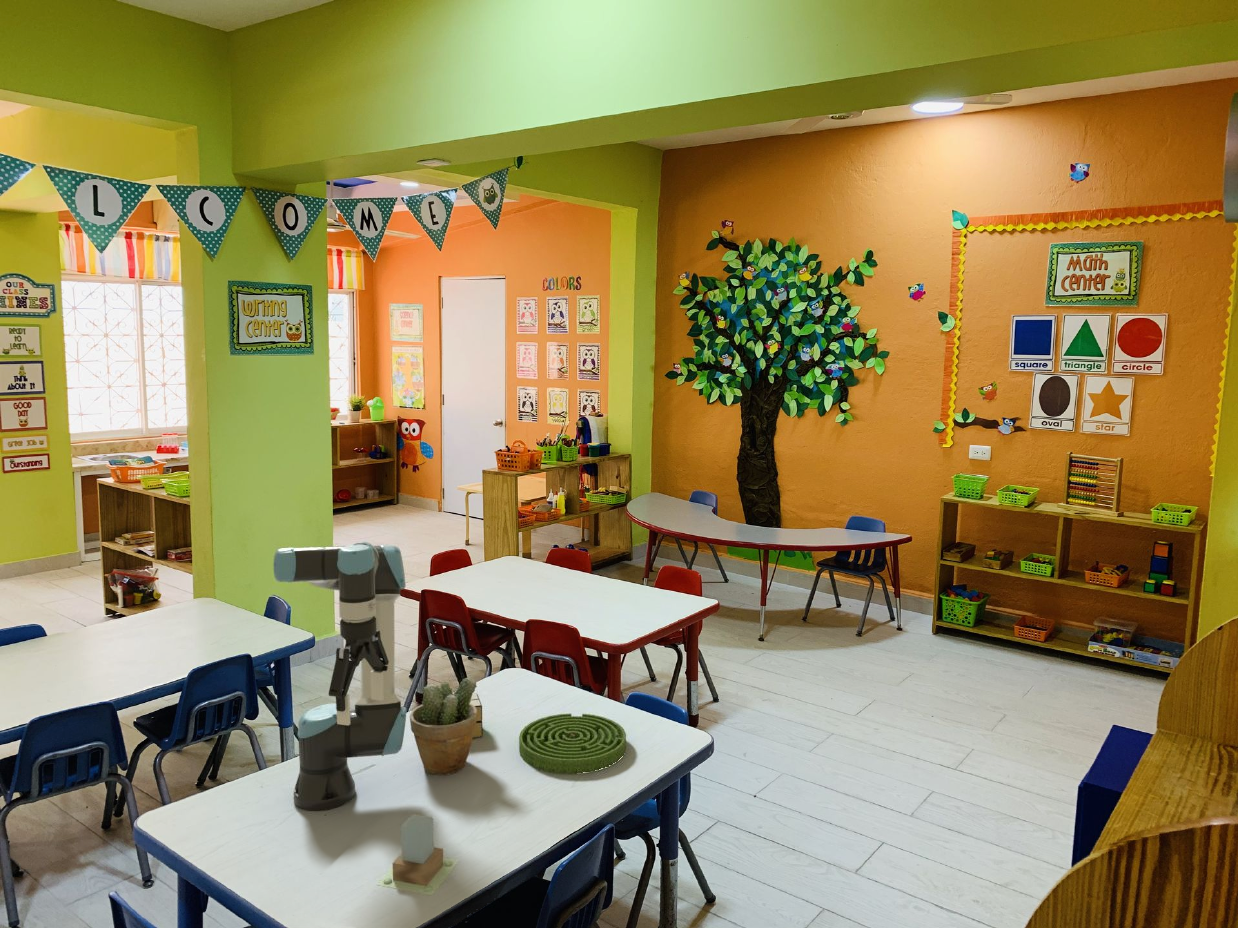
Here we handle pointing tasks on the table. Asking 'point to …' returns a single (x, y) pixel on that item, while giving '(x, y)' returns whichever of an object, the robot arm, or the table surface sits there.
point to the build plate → (428, 889)
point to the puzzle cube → (477, 704)
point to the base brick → (418, 869)
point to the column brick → (417, 839)
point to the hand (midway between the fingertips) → (361, 711)
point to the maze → (572, 743)
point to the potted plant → (445, 726)
